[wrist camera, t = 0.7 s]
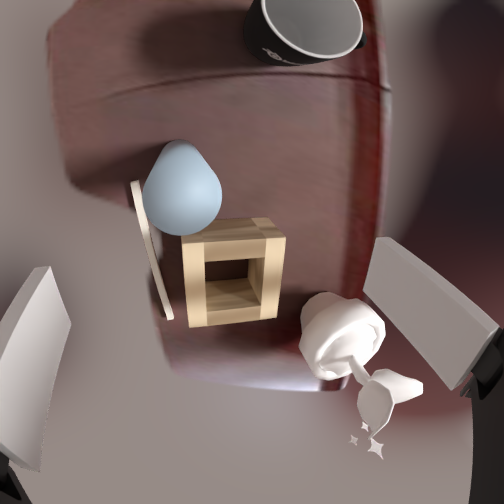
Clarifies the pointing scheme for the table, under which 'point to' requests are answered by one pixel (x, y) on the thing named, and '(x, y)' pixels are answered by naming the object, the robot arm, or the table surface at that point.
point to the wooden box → (234, 290)
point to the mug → (303, 30)
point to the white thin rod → (150, 248)
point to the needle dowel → (181, 190)
